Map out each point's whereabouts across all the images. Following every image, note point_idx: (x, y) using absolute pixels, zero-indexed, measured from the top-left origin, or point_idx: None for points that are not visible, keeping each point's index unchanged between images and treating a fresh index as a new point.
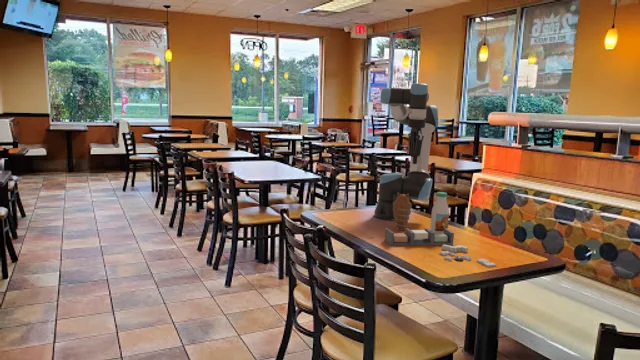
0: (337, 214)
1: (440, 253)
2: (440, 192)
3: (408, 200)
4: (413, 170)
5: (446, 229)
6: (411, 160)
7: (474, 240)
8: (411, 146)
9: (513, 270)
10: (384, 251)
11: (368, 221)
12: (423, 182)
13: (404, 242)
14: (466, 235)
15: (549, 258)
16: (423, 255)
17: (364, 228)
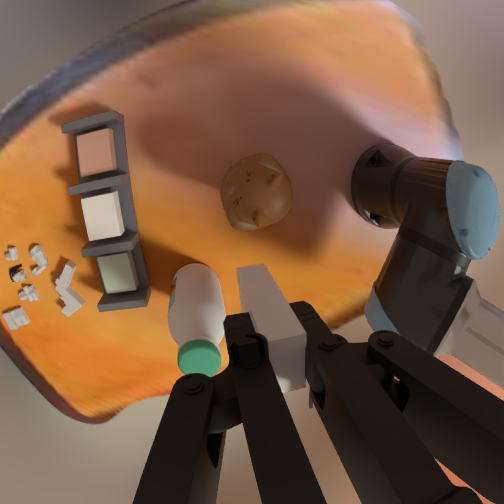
0: (394, 52)
1: (35, 246)
2: (202, 360)
3: (240, 218)
4: (239, 290)
5: (129, 302)
6: (260, 314)
7: (164, 354)
8: (381, 432)
9: (7, 345)
10: (38, 112)
11: (334, 108)
12: (401, 324)
13: None
14: None
15: (90, 419)
16: (22, 204)
17: (251, 74)
